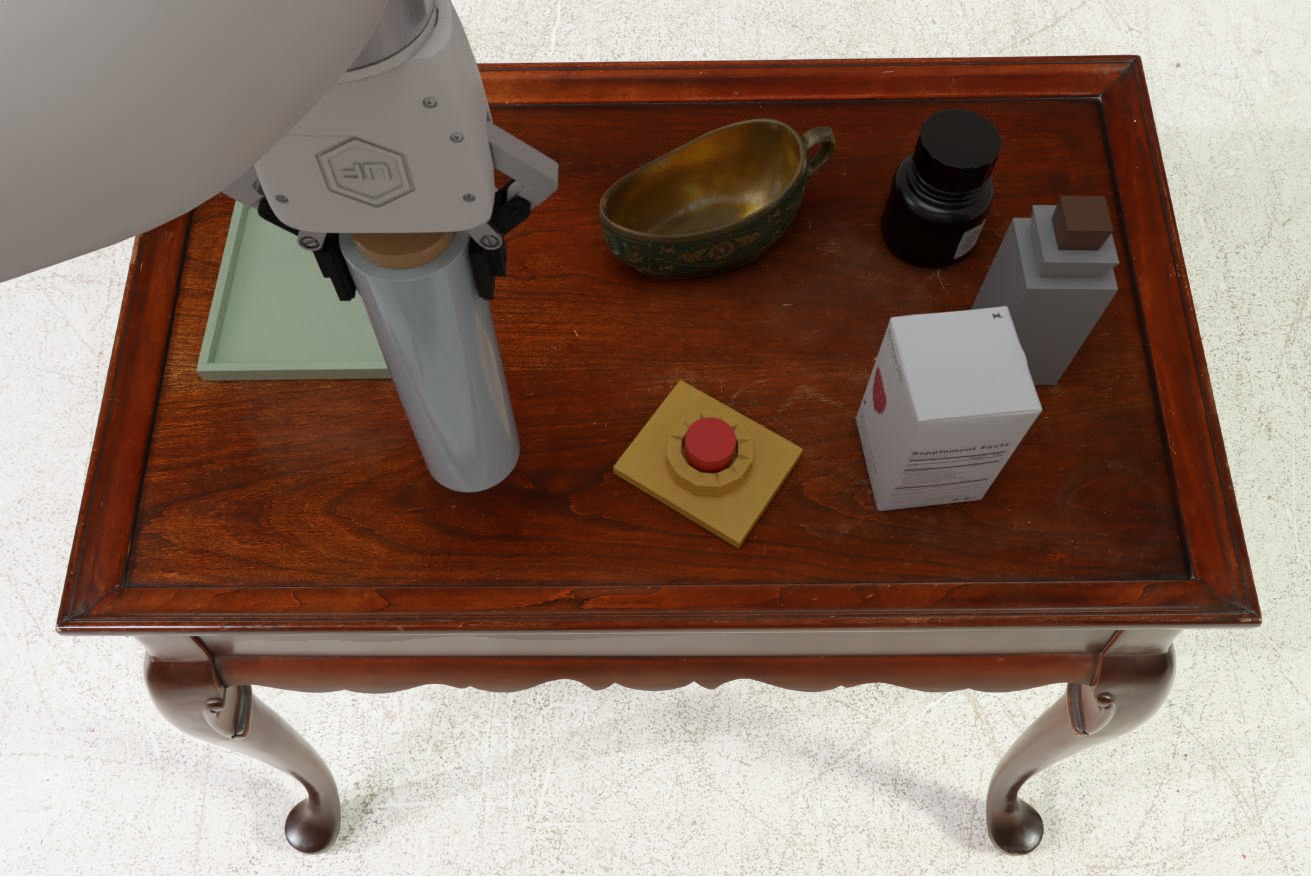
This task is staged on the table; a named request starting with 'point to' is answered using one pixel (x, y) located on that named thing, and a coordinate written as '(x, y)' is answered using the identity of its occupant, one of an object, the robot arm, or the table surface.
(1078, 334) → the perfume bottle
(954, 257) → the ink bottle
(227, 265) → the tray
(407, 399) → the grey cylinder
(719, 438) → the button
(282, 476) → the table surface
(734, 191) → the cup
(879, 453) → the white product box
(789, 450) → the block
